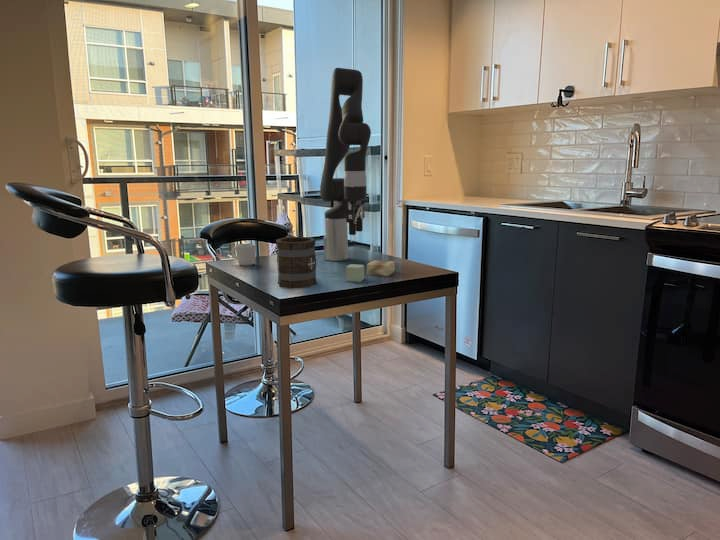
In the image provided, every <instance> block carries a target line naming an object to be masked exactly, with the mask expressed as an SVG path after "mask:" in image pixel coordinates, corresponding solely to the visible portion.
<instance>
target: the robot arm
mask: <svg viewBox="0 0 720 540" xmlns="http://www.w3.org/2000/svg"><path fill="white" fill-rule="evenodd" d="M363 82H364V81H363V74H362V72H361V71H360V70H357V69H351V68H343V67H335V68H334V69H333V72H332V76H331V83H330V84H331V88H330V107H329V108H330V109H329V116H328V124H327V125H328V126H327V131H326V141H325V155H324V163H323V170H322V174H321V175H322V176H321V179H320V185H319V186H320V187H319V189H320V190H319V195H320V198H321V200H322V201H324V202H328V203H329V202H336V204H335V205H334V206H332V207H331V208H328V209H326V210H325V212H324V230H325V231H324V235H325V236H323V260H327V261H332V262H333V261H334V262H335V261H336V262H337V261H339V262H341V261H347V260H348V259H349V243H348V239H349V238H348V235H350V236H355V235H356V234H357V232H363V230H364V229H363V226H364V225H363V224H364V223H363V221H364V219H365V201H364V200H366V199H367V197H368V196H367V193H368V192H367V189H368V188H367V173H366V172H367V171H366V170H367V169H366V168H367V167H366V160H367V159H366V158H367V151H368V147H369V143H370V139H371V135H372V131H371V127H370V126H369V124H367V123H366V122H364V115H363V108H362V107H363V106H362V105H363V91H364V90H363V84H364V83H363ZM340 96H346V97H347V98H346V99H345V101H344V102H343V104H342V105H341V101H340ZM350 146H359V148H358V150H356V151H353V152H349V150H350V148H351V147H350ZM343 159H344V173H343V174H344V175H343V177H337V178H335V177H334V176H335V172H336V170H337V167H338V166H339V165H340V164H341V162H342V161H343Z"/></svg>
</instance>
